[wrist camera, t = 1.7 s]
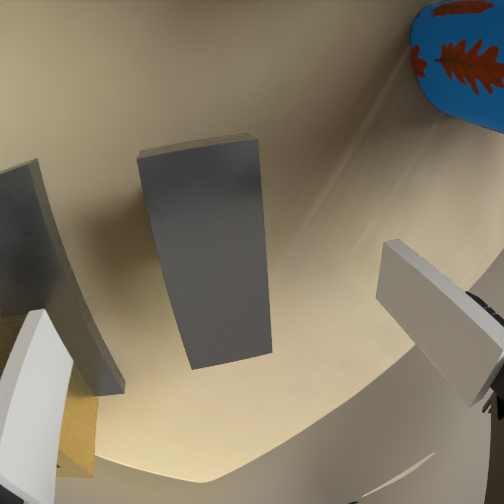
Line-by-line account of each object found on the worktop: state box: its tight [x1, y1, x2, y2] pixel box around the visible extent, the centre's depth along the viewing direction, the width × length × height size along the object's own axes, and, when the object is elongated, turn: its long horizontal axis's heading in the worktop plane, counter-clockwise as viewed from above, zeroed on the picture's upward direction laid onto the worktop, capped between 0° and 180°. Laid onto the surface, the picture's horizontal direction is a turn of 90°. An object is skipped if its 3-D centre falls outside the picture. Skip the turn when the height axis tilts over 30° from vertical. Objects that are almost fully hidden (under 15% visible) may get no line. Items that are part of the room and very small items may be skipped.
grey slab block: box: [137, 133, 272, 370], centre depth 16 cm, size 10×4×10 cm, turn 5°
